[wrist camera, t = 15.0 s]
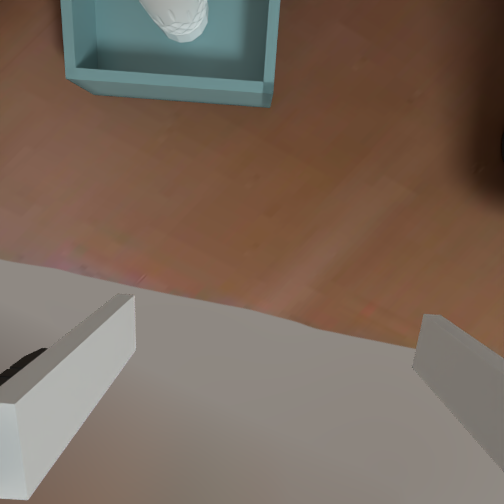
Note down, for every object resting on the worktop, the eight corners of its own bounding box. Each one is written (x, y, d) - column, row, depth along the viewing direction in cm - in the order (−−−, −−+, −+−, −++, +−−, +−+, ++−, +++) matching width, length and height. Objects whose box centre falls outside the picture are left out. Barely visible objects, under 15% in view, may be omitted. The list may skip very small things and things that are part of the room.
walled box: (283, -72, 35) (289, -124, 29) (270, 107, 39) (272, 93, 33) (85, -88, 34) (50, -143, 29) (94, 94, 39) (65, 78, 33)
